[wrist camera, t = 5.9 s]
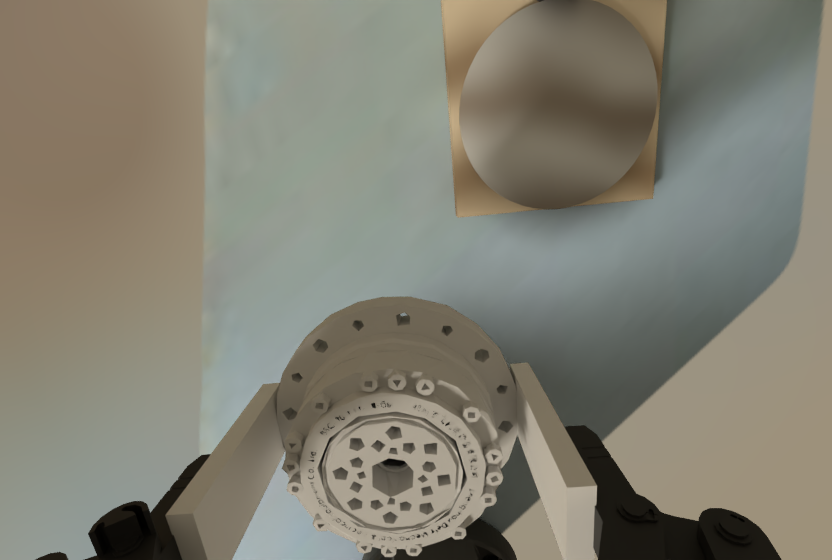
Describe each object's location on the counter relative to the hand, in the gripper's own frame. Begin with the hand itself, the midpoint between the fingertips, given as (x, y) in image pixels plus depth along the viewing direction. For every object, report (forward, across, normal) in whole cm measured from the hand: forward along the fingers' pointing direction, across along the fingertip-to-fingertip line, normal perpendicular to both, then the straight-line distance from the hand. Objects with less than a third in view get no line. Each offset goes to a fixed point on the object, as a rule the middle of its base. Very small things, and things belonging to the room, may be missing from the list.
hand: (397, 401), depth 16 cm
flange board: (+13, -11, -15) cm, 22 cm away
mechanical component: (+1, 0, 0) cm, 1 cm away
